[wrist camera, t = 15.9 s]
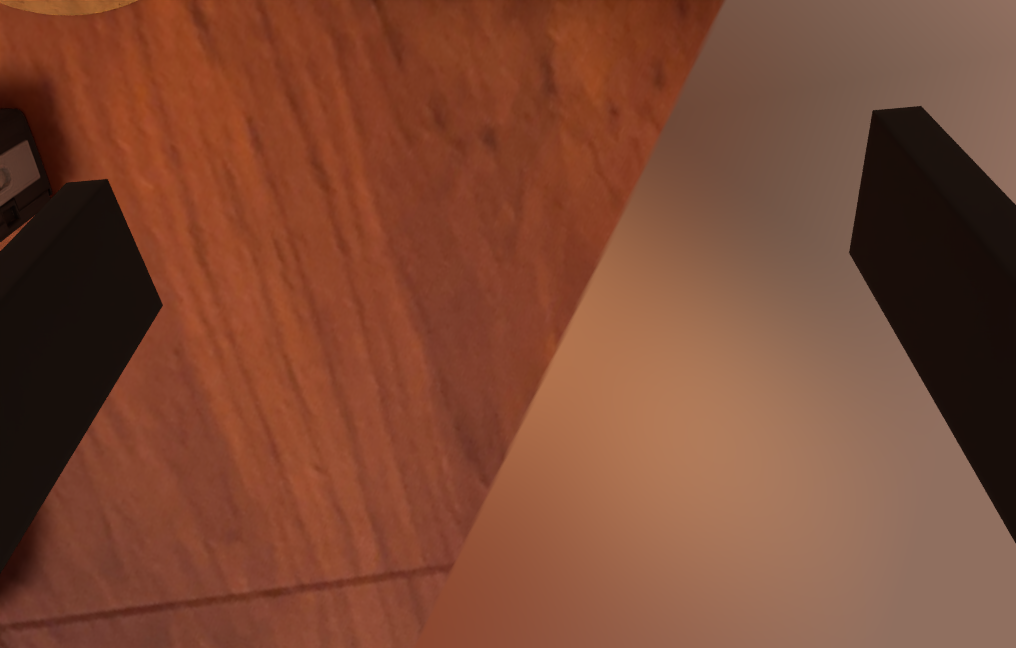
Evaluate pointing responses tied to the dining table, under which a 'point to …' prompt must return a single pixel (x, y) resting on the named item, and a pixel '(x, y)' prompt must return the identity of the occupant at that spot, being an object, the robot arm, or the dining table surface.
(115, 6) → the cake on gold board
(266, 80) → the dining table surface
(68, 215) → the robot arm
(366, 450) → the dining table surface
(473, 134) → the dining table surface
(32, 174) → the camera
